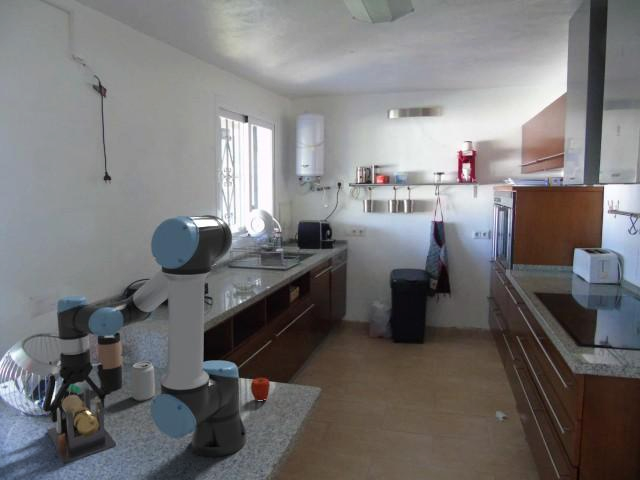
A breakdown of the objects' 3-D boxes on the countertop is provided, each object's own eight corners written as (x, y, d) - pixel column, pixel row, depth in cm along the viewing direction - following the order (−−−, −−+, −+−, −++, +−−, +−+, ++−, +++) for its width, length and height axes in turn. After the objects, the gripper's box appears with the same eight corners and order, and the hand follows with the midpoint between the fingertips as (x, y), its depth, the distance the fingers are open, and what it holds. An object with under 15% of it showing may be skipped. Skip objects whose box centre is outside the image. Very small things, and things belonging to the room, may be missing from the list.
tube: (96, 436, 125) (101, 417, 125) (76, 436, 121) (81, 417, 122) (77, 411, 140) (82, 394, 140) (59, 411, 136) (64, 394, 137)
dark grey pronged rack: (116, 445, 127) (114, 405, 126) (64, 463, 119) (61, 420, 118) (94, 418, 144) (92, 382, 143) (47, 432, 135) (44, 394, 134)
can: (147, 402, 155) (145, 368, 154) (127, 401, 156) (126, 367, 155) (159, 393, 162) (157, 360, 161) (140, 391, 163) (138, 359, 162)
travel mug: (101, 385, 170) (99, 333, 168) (124, 382, 172) (121, 331, 170) (98, 393, 162) (95, 339, 161) (121, 390, 165) (118, 337, 163)
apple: (248, 402, 154) (247, 381, 153) (256, 395, 159) (256, 374, 159) (265, 405, 152) (264, 383, 151) (272, 397, 157) (272, 376, 157)
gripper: (112, 339, 140) (115, 409, 142) (26, 356, 125) (31, 433, 127) (120, 345, 134) (123, 417, 136) (31, 363, 119) (36, 444, 121)
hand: (79, 425), depth 131 cm, fingers open, 10 cm apart
